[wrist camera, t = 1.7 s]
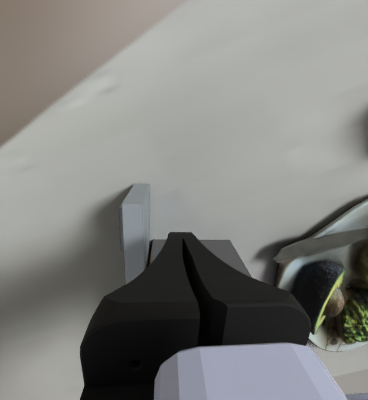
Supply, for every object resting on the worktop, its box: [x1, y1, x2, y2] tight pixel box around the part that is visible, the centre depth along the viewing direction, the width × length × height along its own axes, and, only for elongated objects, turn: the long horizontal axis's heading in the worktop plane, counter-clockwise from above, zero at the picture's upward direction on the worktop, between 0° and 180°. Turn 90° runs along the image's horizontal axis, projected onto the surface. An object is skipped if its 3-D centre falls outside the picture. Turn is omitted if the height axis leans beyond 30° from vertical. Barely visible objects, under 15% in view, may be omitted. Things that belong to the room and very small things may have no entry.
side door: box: [119, 184, 150, 284], centre depth 17 cm, size 17×2×5 cm, turn 177°
